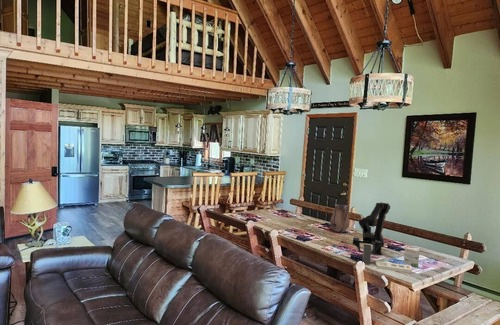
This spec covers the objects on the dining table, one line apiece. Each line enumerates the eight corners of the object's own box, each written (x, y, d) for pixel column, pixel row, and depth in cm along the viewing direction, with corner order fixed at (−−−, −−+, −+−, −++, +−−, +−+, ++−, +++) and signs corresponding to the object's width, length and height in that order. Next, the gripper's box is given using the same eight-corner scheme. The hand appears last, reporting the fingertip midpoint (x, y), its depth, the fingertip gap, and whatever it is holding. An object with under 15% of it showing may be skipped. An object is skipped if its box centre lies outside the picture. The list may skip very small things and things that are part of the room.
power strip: (376, 269, 221) (377, 264, 220) (375, 265, 229) (375, 259, 229) (411, 274, 216) (411, 269, 215) (408, 269, 224) (409, 264, 224)
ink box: (418, 266, 233) (420, 249, 232) (416, 268, 229) (417, 250, 228) (405, 262, 238) (407, 246, 238) (403, 264, 235) (404, 247, 234)
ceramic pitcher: (341, 228, 330) (343, 203, 328) (354, 234, 310) (356, 207, 308) (326, 229, 324) (327, 203, 323) (338, 235, 304) (340, 207, 303)
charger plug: (362, 265, 228) (364, 246, 227) (362, 263, 232) (363, 244, 231) (369, 266, 227) (371, 247, 226) (369, 264, 231) (370, 245, 230)
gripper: (354, 225, 234) (353, 245, 224) (382, 229, 230) (383, 249, 219) (352, 234, 242) (352, 253, 232) (380, 237, 238) (380, 257, 228)
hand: (367, 253), depth 228 cm, fingers open, 9 cm apart
